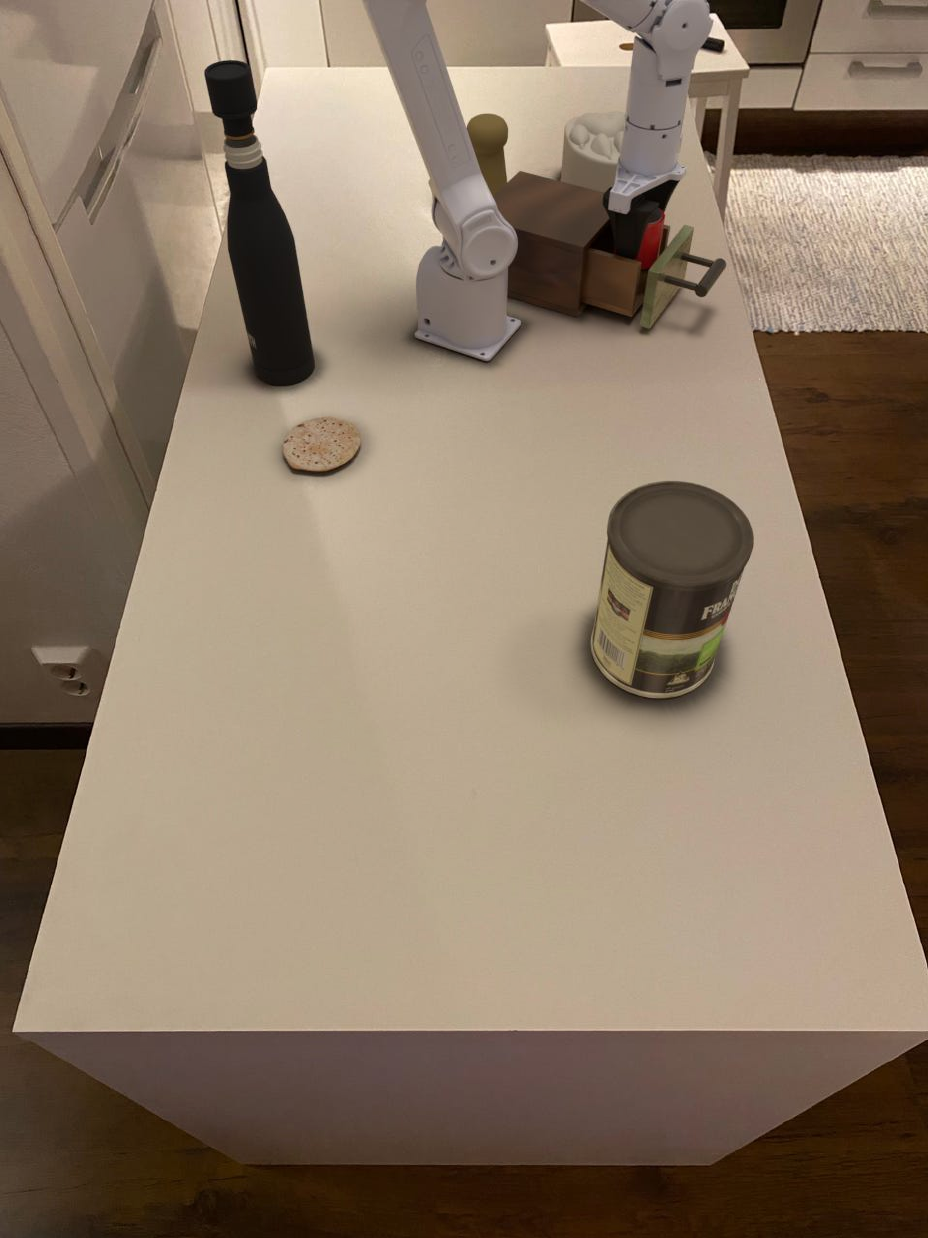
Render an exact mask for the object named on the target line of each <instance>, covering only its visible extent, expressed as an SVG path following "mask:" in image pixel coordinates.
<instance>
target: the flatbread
mask: <svg viewBox="0 0 928 1238" xmlns="http://www.w3.org/2000/svg"><path fill="white" fill-rule="evenodd" d="M361 442H362V439H361V433H360V431H359V429H358V427H357V426H356V425H355V424H354V423H352V422H350V421H347V420H344V419H341V418H337V417H332V416H324V417H323V416H321V417H317V418H313V419H309V420H304V421H302V422H300V423H297V424H296V425H294V426H293V428H292V429H291V430H290V431H289V432H288V434H287V435H286V437H285V439H284V442H283V444H282V454H283V456H284V459H285V460H286V461H287V463H288V465H289V466H290V468H293V469H294V470H303V471H308V472H327V471H330V470H331V471H332V470H333V469H336V468H339V467H341V466H343V465H344V464H347V463H348V462H349V461H350V460H352V459H353V458H354V456H355V455H356V453H357V452H358V450H359V449H360V446H361Z"/></svg>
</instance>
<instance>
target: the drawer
mask: <svg viewBox="0 0 928 1238" xmlns="http://www.w3.org/2000/svg"><path fill="white" fill-rule="evenodd" d="M670 231H671V225H667V224H664V227H663V233H662V239H661V246H660V252H659V258H658V259H657V260H656V262H655V263H654V264H653V265H652V267H650V268H648V269H643V270H641V263H642V262H639V261H636V260H632V259H629V258H625V257H622V256H618V255H614V254H613V250H614V236H613V230H612V225H611V223H610V224H609V225H608V226H607V227H606V228H605V230H604V231H603V232H602V233H601V234H600V235H599V236H598V238H597V239H596V240H595V241H594V242H593V243H592V244H591V246H590V247H589V248H588V249H587V250H586V255H585V265H584V276H583V286H582V297H581V302H583V303H587V304H588V305H590V306H594V307H597V308H600V309H603V310H606V311H610V312H614V313H617V314H619V315H623V316H626V317H630V318H631V317H633V316H634V314H635V313H636V312H637V310H638V309H639V308H640V306H641V305H642V308H641V309H642V310H641V316H640V323H639V327H642V328H645V329H651V328H652V326H653V325H654V324H655V322H656V321H657V320H658V318H659V317H660V315H662V313H663V311H665V309H666V307H667V306H668V305H669V303H670V302H671V300H672V299H673V298H674V296H675V295H676V294H677V292H678V291H679V289H680V288H683V289H686V290H690V291H693V292H694V293H695V295H696V296H697V297H698V298H704V297H706V296H707V295H708V294H709V292H710V290H711V289H713V286H714V285H715V283H716V282H717V281H718V279H719V278H720V277H721V275H722V274H723V272H724V270H726V268H727V262H726V260H725V259H724V258H721V257H719V258H716V259H715V260H712V259H708V258H704V257H701V256H698V255H694V254H690V252H691V247H692V241H693V237H694V232H695V227H694V226H692V225H687V224H683V226H682V227H681V228H680V229H679V231H678V232H677V233H676V235H675V236H674V237H673V238H672V240H671V241H670V242H669V239H670V238H669V237H670V233H671V232H670ZM668 243H669V244H668ZM688 263H690V264H694V265H698V266H701V267H706V268H708V269H707V271H706V272H705V274H704V275H703V276H702V278H701V279H700V281H699V282H698V283H696V282H693V281H690V280H685V278H686V274H687V269H688Z"/></svg>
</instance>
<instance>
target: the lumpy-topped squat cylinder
mask: <svg viewBox="0 0 928 1238" xmlns="http://www.w3.org/2000/svg"><path fill="white" fill-rule="evenodd" d="M624 120H625V112H622V111H619V110H615V111H607V112H587V113H584V114H582V115H580V116H579V115H578V116H575V117H572V118H570V119H569V120H567V122H566V123H565V125H564V129H563V142H562V143H563V144H562V157H561V158H562V159H561V173H560V181H561V182H565V183H569V184H573V185H577V186H581V187H584V188H588V189H592V190H596V191H600V192H604V193H605V192H606V191H607V190H608V189H609V188H610V187H614V184H615V178H616V170H617V162H618V158H619V157H620V154H621V146H622V137H623V129H624Z"/></svg>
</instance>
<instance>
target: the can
mask: <svg viewBox="0 0 928 1238" xmlns="http://www.w3.org/2000/svg"><path fill="white" fill-rule="evenodd" d="M665 221H666V214H665V212H663V211H662V210H661V209H660V208H659V207H657V208H656V210H655V211H654V213H653V215H652V216H651V218H650V220H649V222H648V224H647V227H646V230H645V233H644V236H643V240H642V243H641V247H640V250H639V253H638V255H637V257H636V259H635V260H636V261H639V262H642V263H641V270H643V269H648V268H650V267H652V265H653V264H654V263H655V262H656V260H657V259H658V258H659V252H660V246H661V239H662V233H663V227H664V225H665ZM613 254H614V255H616V251H615V244H614V250H613Z"/></svg>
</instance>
